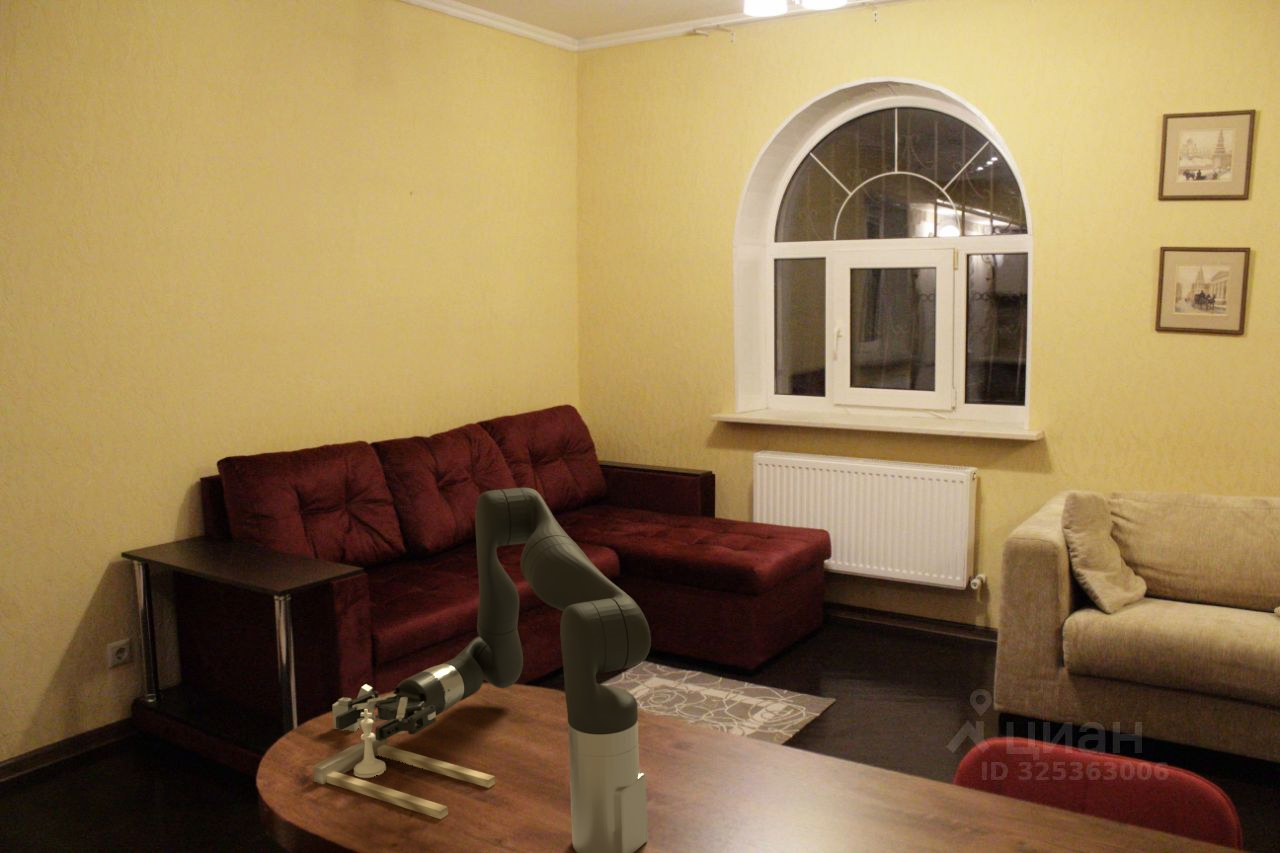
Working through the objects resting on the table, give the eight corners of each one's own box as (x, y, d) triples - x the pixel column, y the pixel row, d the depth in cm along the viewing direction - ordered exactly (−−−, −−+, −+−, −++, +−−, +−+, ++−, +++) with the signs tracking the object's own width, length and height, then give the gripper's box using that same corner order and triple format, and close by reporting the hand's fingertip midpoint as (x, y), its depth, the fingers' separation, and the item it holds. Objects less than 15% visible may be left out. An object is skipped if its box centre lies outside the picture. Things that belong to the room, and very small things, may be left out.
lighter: (333, 729, 179) (330, 684, 178) (339, 725, 181) (335, 680, 180) (370, 733, 177) (367, 687, 176) (375, 729, 179) (372, 684, 178)
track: (498, 781, 158) (497, 766, 158) (437, 821, 147) (436, 804, 147) (378, 747, 171) (377, 732, 171) (313, 781, 160) (312, 766, 160)
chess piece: (377, 779, 160) (373, 716, 159) (347, 776, 161) (343, 714, 160) (391, 764, 165) (387, 703, 164) (362, 762, 166) (358, 702, 165)
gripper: (397, 664, 177) (323, 697, 164) (461, 678, 170) (389, 714, 156) (400, 706, 179) (326, 743, 165) (464, 722, 171) (392, 762, 157)
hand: (357, 729), depth 161 cm, fingers open, 8 cm apart
